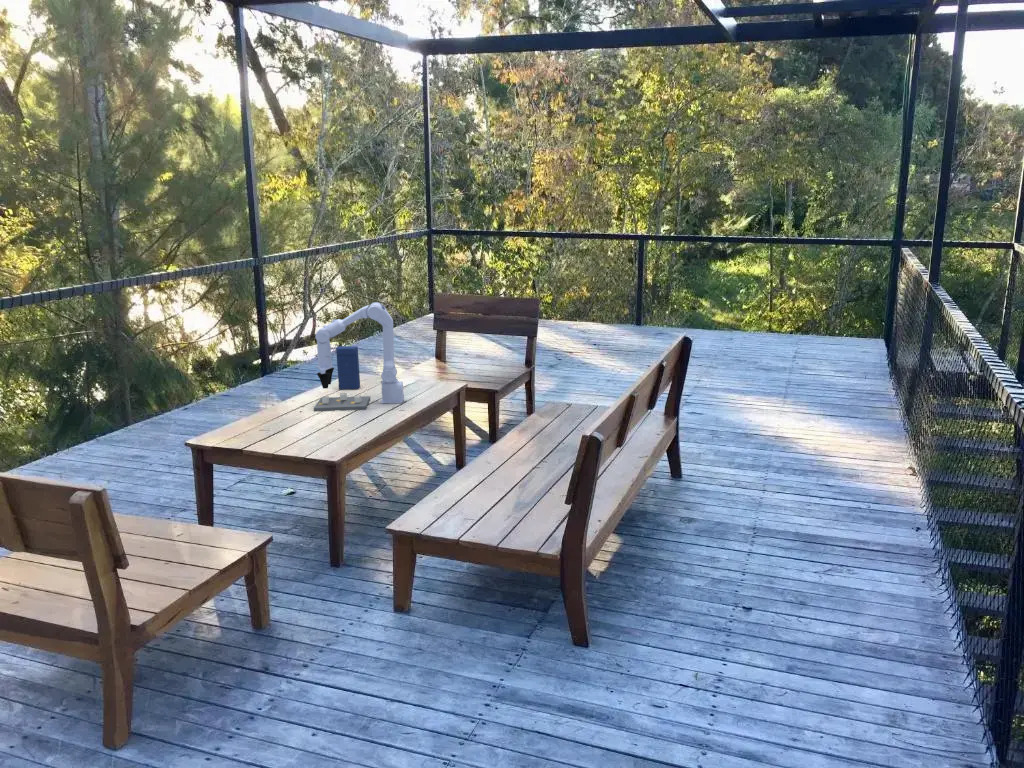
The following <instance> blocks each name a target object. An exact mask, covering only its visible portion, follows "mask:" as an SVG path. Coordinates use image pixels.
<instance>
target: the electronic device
mask: <svg viewBox="0 0 1024 768" xmlns="http://www.w3.org/2000/svg"><path fill="white" fill-rule="evenodd" d="M335 350H336V354H335V355H336V364H337V366H336V367H337V368H336V369H337V380H338V381H337V382H338V390H359V389H361V377H360V362H359V346H357V345H353V346H352V345H350V346H348V345H347V346H345V345H344V346H342V345H341V346H337V347H335Z"/></svg>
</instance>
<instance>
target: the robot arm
mask: <svg viewBox="0 0 1024 768" xmlns="http://www.w3.org/2000/svg"><path fill="white" fill-rule="evenodd" d="M368 318H369V319H371V320H373V321H376V322H378V324H380V325H381V326H382V347H383V348H382V351H383V353H382V355H383V366H382V372H381V374H380V375H381V377H380V378H381V397H382V399H381V402H380V404H402V403H404V399H405V394H404V383H403V381H399V379H398V378H397V374H398V370H397V367H396V365H395V349H394V348H395V343H394V342H395V341H394V340H395V339H394V320H393V317H392V316H391V315H390V313H389V312H388V310H387V308H386V306H384V305H383V304H382V303H380V302H377V301H376V302H372V303H371V304H368V305H365V306H363V307H360V309H357V310H356V311H355V312H352V313H351V314H350V315H347V317H345V318H343V319H339V318H338V319H335V318H334V319H333V320H332V321H331V322H330V323H328V324H327V325H323V327H322V328H319V329H318V330H317V332H316V333H315V340H316V345H317V346H316V349H317V350H316V351H317V361H318V362H317V363H318V365H316V366H315V368H316V369H318V370H320V371H319V372H317V373H316V374H317V377H318V379H319V380H320V384H321V387H322V389H324V390H325V389H328V388H329V385H331V384H332V377H333V373H334V370H335V367H333V362H332V361H333V360H332V350H331V349H332V348H331V341H330V339H331V338H334V337H336V336H338V335H339V334H341V333H343V332H345V331H346V327H347V326H349V325H350V324H352V323H354V322H356V321H358V320H360V319H368Z"/></svg>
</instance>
